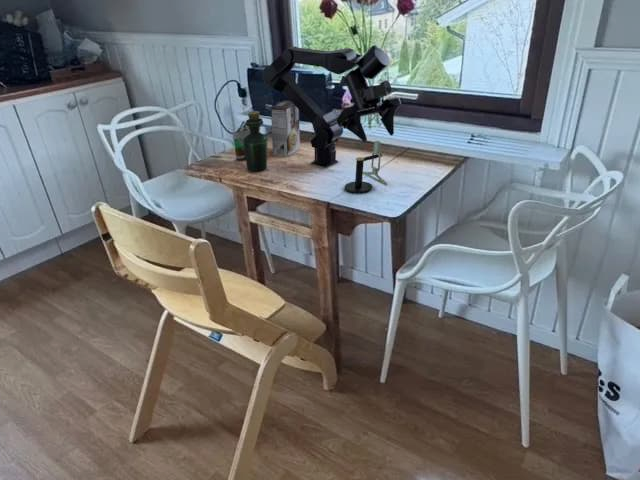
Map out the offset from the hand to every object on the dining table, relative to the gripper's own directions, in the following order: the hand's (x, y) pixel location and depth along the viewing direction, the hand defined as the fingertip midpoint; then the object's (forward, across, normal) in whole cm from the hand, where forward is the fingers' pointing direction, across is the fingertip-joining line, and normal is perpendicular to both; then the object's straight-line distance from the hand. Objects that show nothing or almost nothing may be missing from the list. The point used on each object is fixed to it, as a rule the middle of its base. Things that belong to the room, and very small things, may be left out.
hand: (379, 137), depth 149 cm
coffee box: (-20, -9, +38) cm, 43 cm away
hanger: (+10, -2, +6) cm, 12 cm away
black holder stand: (+11, -6, +7) cm, 14 cm away
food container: (-22, -22, +41) cm, 52 cm away
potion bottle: (-13, -25, +31) cm, 42 cm away
